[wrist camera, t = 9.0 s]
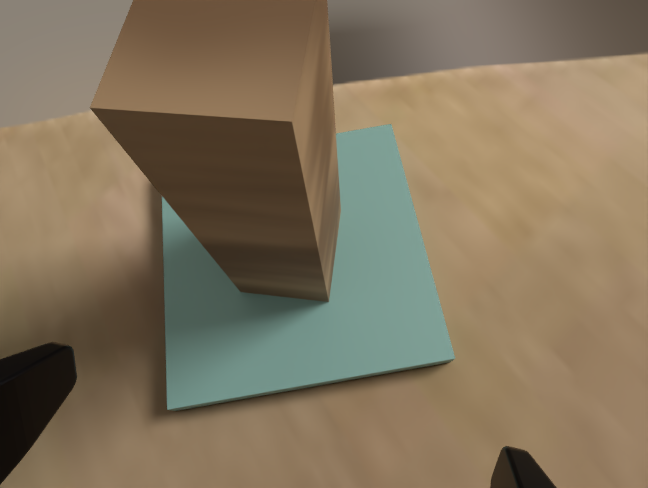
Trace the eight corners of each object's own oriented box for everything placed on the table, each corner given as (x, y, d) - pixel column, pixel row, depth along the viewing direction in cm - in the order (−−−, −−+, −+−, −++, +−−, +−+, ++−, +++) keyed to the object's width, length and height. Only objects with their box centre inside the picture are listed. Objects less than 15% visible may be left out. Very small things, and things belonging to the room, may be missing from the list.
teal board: (176, 410, 19) (167, 409, 19) (168, 174, 24) (161, 164, 23) (450, 362, 20) (454, 358, 19) (389, 135, 24) (391, 123, 23)
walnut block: (329, 301, 20) (292, 122, 8) (240, 291, 20) (89, 107, 9) (341, 210, 22) (324, -45, 10) (259, 203, 22) (153, -50, 10)
